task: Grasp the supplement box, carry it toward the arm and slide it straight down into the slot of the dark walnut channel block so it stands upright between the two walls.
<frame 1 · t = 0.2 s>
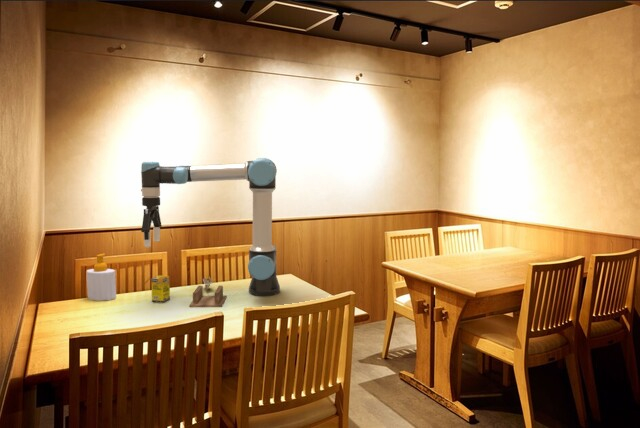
hand: (152, 244, 210), 26 cm above the table, fingers open, 13 cm apart
slot block: (208, 302, 211), on the table
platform: (208, 291, 231), on the table
soap bottle: (102, 298, 216), on the table
supplement box: (161, 301, 213), on the table
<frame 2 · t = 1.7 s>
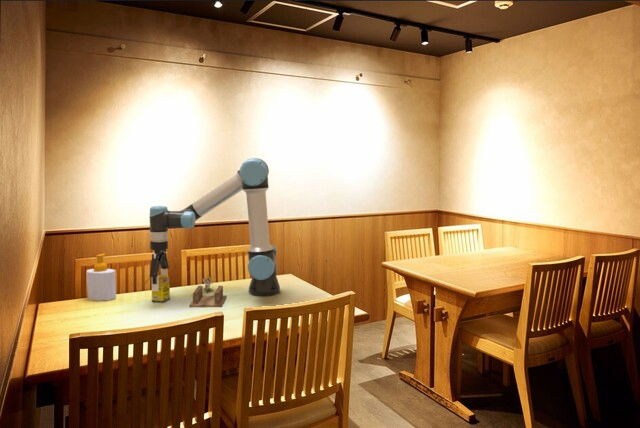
hand: (159, 286, 213), 6 cm above the table, fingers open, 13 cm apart
nothing on the table moved.
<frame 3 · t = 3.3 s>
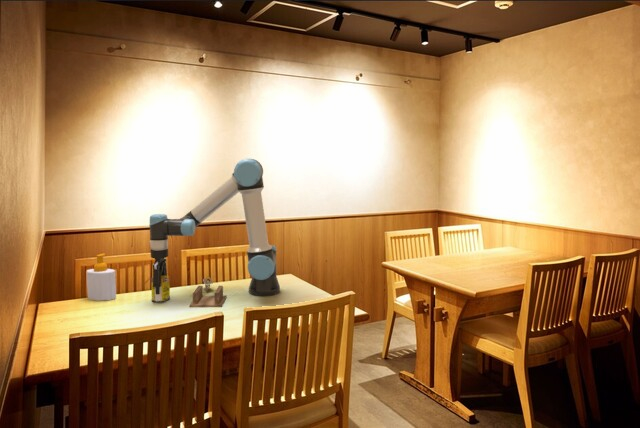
hand: (161, 298, 213), 1 cm above the table, fingers closed on supplement box, 7 cm apart
supplement box: (161, 300, 213), on the table, touching gripper
everything else where it was.
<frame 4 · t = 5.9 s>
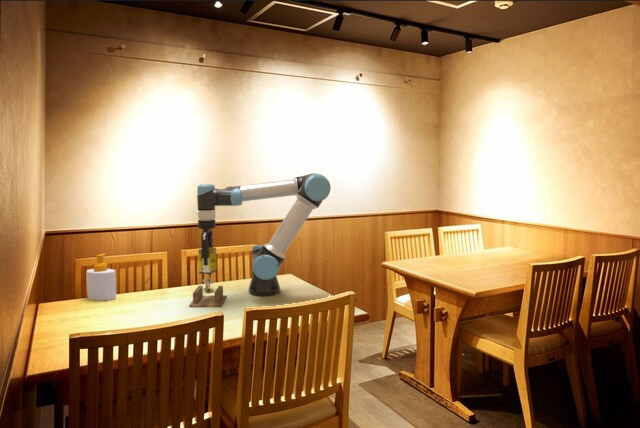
hand: (207, 270, 210), 15 cm above the table, fingers closed on supplement box, 7 cm apart
supplement box: (208, 272, 210), point 14 cm above the table, touching gripper
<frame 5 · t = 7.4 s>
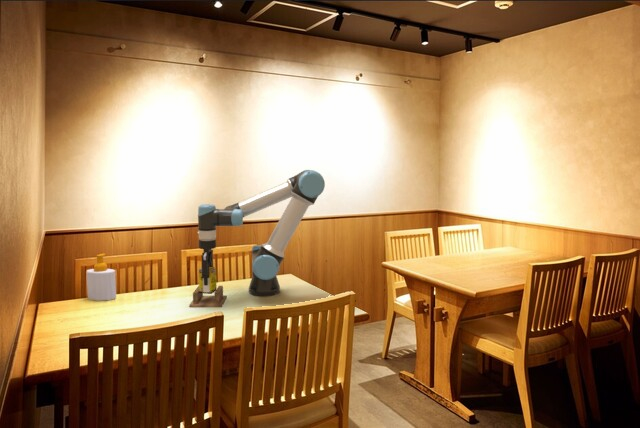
hand: (208, 289, 211), 6 cm above the table, fingers closed on supplement box, 7 cm apart
supplement box: (208, 292, 211), point 5 cm above the table, touching gripper
when the fingers open (4 cm above the table, at t = 8.6 s): supplement box drops 2 cm, resting on slot block.
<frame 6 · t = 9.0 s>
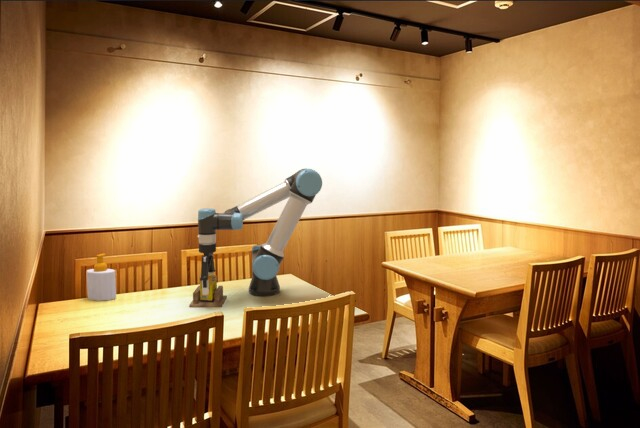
hand: (208, 290, 211), 6 cm above the table, fingers open, 12 cm apart
supplement box: (208, 300, 211), point 1 cm above the table, touching slot block
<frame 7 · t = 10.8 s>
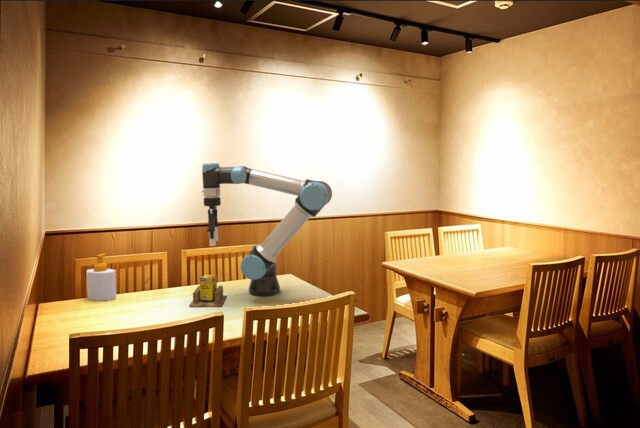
hand: (214, 243, 215), 26 cm above the table, fingers open, 13 cm apart
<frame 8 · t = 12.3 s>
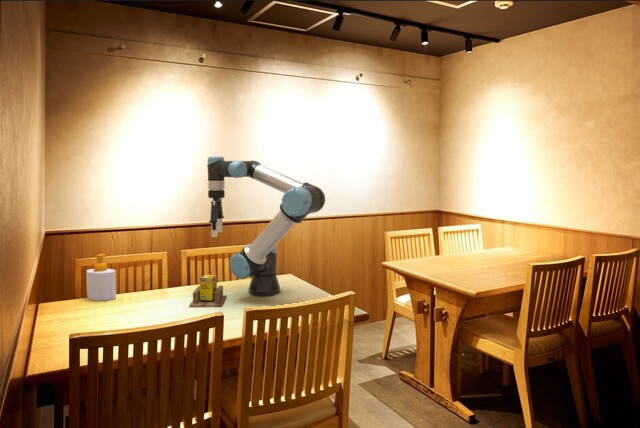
hand: (217, 234, 222), 29 cm above the table, fingers open, 13 cm apart
at the end: supplement box inside the target area on the slot block (0.1 cm from its centre), point 0.8 cm above the slot block's base; supplement box tilted 0°; the gripper is holding nothing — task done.
